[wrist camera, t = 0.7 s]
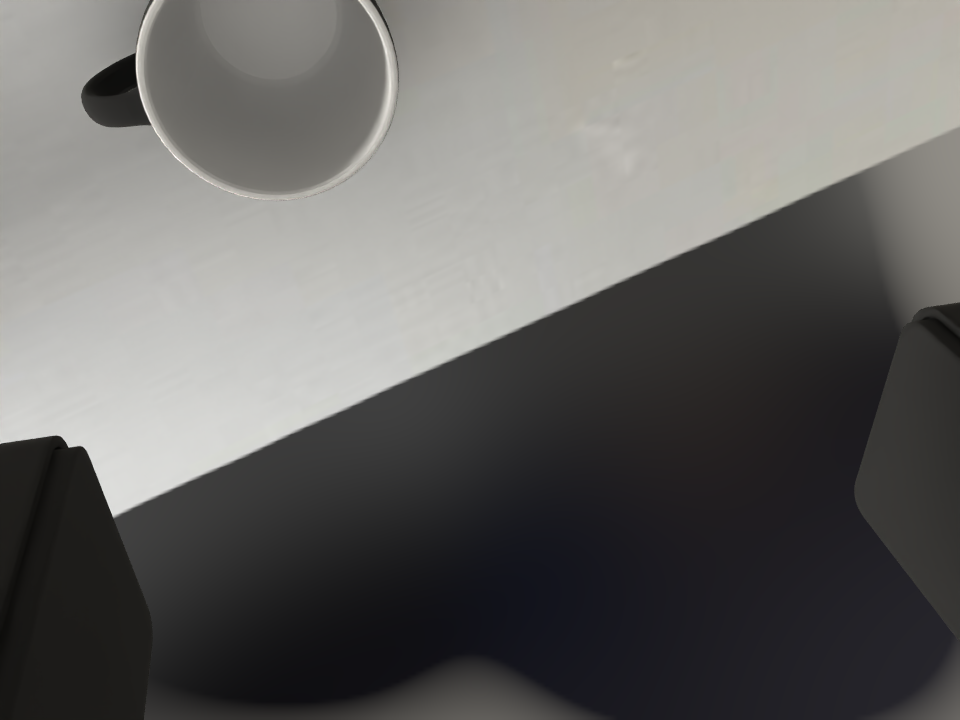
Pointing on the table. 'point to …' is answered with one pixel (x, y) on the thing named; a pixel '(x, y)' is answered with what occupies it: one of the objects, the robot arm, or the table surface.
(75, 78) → the table surface
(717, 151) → the table surface
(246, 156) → the mug
